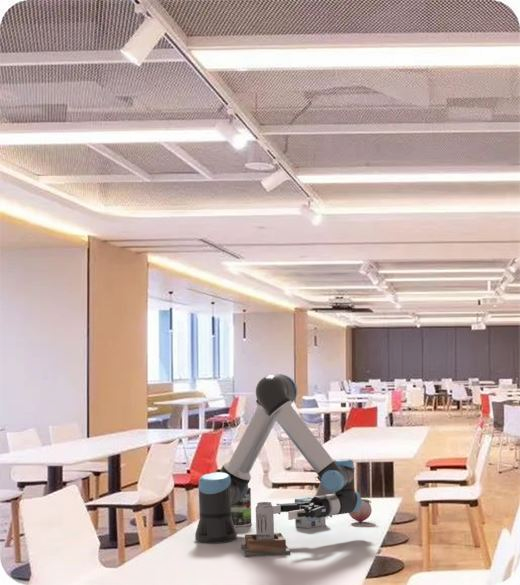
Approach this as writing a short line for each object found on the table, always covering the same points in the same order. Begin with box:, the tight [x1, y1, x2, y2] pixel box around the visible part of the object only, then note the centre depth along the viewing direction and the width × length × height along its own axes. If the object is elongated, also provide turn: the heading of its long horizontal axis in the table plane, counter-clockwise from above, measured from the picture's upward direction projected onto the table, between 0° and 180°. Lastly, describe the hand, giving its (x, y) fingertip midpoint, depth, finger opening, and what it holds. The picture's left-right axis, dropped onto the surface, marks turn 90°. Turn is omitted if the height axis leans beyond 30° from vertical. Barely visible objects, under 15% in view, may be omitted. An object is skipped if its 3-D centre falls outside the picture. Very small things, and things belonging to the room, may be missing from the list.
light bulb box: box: [294, 495, 326, 529], centre depth 384 cm, size 11×7×11 cm, turn 131°
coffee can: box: [231, 487, 252, 528], centre depth 391 cm, size 10×10×14 cm
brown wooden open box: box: [240, 532, 291, 558], centre depth 338 cm, size 15×15×5 cm
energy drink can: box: [255, 501, 275, 540], centre depth 339 cm, size 6×6×15 cm
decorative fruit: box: [348, 498, 373, 523], centre depth 388 cm, size 9×8×10 cm
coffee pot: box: [314, 475, 334, 496], centre depth 424 cm, size 21×12×15 cm, turn 162°
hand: (276, 513), depth 342 cm, fingers open, 13 cm apart
